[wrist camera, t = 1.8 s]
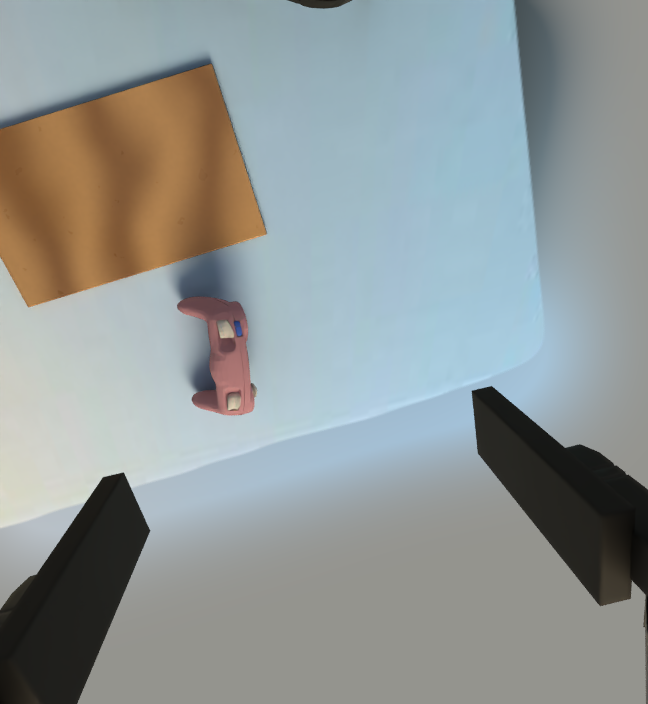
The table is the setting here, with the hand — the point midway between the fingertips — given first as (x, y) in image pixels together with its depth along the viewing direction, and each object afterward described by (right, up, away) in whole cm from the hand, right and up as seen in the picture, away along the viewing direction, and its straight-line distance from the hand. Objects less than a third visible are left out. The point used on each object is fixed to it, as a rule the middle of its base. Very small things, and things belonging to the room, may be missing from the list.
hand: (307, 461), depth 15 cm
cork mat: (-15, +16, +16) cm, 27 cm away
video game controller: (-8, +5, +21) cm, 23 cm away
